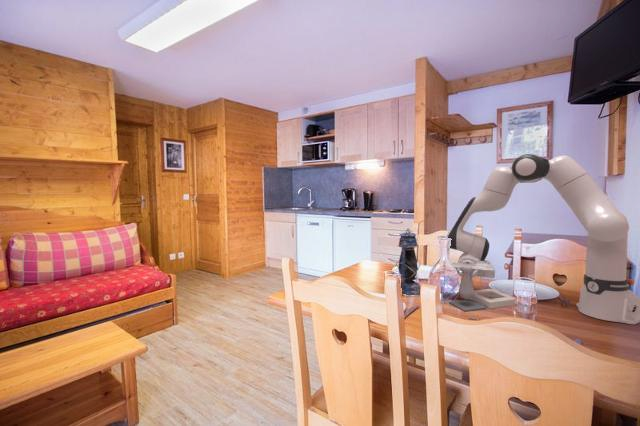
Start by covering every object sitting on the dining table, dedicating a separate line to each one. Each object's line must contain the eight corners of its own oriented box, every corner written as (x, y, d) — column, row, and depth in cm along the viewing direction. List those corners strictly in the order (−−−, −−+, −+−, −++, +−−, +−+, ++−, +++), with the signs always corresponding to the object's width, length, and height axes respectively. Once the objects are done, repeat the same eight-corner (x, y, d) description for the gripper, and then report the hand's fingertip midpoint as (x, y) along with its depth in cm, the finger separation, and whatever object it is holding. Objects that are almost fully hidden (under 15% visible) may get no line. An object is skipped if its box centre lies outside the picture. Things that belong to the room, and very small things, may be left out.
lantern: (416, 299, 136) (415, 231, 134) (389, 294, 143) (389, 229, 141) (426, 289, 149) (426, 227, 146) (401, 285, 156) (401, 226, 154)
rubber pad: (468, 300, 133) (468, 299, 133) (486, 308, 123) (486, 307, 123) (448, 303, 130) (448, 301, 130) (464, 311, 121) (465, 310, 121)
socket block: (491, 293, 140) (491, 288, 140) (518, 304, 127) (518, 298, 127) (465, 297, 137) (465, 291, 137) (489, 308, 123) (489, 302, 123)
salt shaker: (475, 300, 123) (476, 268, 122) (460, 299, 125) (460, 267, 124) (472, 295, 129) (472, 264, 128) (457, 294, 130) (457, 264, 129)
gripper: (442, 257, 142) (439, 264, 130) (494, 261, 133) (495, 269, 120) (442, 271, 142) (439, 279, 130) (493, 276, 133) (495, 285, 121)
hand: (466, 274), depth 125 cm, fingers closed on salt shaker, 3 cm apart
